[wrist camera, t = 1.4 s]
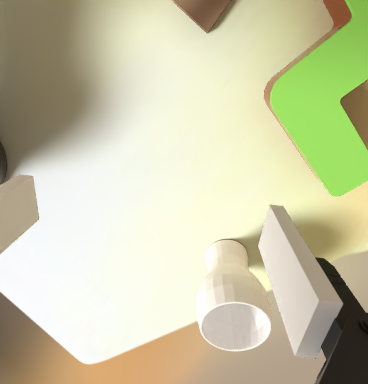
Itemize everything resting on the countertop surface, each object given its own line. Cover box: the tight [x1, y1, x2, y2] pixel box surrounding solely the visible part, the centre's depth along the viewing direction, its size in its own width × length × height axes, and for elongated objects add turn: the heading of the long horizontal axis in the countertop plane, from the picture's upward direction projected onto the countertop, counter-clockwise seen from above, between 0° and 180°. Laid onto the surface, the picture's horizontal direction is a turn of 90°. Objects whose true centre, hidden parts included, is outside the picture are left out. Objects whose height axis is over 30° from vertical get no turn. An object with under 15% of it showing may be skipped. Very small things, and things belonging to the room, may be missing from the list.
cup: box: [196, 240, 271, 351], centre depth 42 cm, size 11×11×15 cm
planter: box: [264, 0, 368, 196], centre depth 32 cm, size 30×18×6 cm, turn 40°
